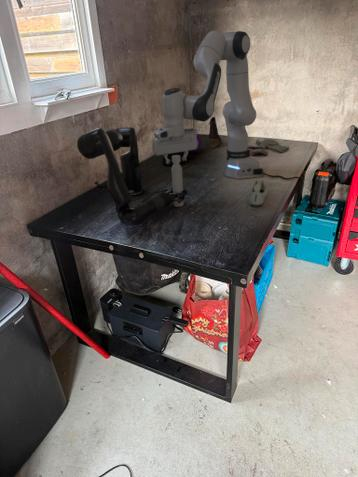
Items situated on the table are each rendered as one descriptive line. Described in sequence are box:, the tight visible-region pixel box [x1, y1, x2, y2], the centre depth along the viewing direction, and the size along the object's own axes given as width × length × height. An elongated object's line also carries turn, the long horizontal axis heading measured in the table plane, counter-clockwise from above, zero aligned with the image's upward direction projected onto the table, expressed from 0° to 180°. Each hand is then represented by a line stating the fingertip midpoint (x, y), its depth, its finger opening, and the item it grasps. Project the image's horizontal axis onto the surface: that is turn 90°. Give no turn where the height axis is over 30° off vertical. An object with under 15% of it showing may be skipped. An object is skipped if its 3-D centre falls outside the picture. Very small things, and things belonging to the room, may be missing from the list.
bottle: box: [170, 163, 185, 208], centre depth 152 cm, size 5×5×23 cm
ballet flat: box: [249, 179, 269, 207], centre depth 158 cm, size 8×24×8 cm, turn 163°
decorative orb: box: [188, 133, 202, 154], centre depth 230 cm, size 15×15×15 cm
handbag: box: [162, 151, 190, 167], centre depth 211 cm, size 21×9×25 cm, turn 148°
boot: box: [208, 116, 222, 149], centre depth 245 cm, size 9×24×20 cm, turn 168°
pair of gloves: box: [247, 138, 290, 156], centre depth 228 cm, size 30×26×5 cm
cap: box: [172, 155, 181, 164], centre depth 147 cm, size 4×4×2 cm
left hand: (181, 190), depth 156 cm, fingers closed on bottle, 5 cm apart
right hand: (176, 162), depth 147 cm, fingers open, 6 cm apart
